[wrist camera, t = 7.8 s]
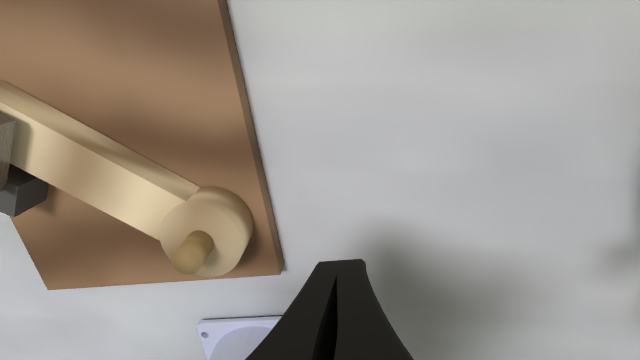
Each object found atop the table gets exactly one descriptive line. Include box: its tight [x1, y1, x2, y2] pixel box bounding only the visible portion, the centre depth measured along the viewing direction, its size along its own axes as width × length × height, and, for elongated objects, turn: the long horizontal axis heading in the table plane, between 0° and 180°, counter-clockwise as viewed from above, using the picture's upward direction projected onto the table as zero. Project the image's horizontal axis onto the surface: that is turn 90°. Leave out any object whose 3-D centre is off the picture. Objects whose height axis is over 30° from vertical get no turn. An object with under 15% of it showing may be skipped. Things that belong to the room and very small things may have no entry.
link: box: [0, 80, 254, 277], centre depth 19 cm, size 15×4×4 cm, turn 60°
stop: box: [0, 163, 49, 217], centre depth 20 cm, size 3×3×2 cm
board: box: [0, 0, 284, 290], centre depth 21 cm, size 18×16×1 cm
